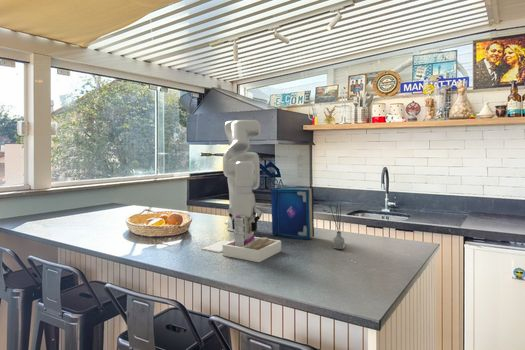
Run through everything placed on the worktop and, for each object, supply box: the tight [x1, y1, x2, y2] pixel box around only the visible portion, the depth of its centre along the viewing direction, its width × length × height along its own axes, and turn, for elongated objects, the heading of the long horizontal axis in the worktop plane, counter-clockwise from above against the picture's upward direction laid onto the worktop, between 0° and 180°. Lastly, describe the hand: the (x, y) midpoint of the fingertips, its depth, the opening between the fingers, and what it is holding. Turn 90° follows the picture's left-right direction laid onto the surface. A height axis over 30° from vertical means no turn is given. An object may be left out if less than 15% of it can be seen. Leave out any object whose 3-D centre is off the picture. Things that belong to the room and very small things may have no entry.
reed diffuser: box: [329, 203, 346, 250], centre depth 158 cm, size 10×7×20 cm
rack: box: [222, 236, 282, 263], centre depth 152 cm, size 18×18×4 cm
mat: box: [201, 240, 231, 254], centre depth 162 cm, size 10×16×1 cm, turn 148°
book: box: [270, 186, 315, 240], centre depth 180 cm, size 22×7×25 cm, turn 62°
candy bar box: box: [233, 216, 255, 247], centre depth 154 cm, size 11×5×16 cm, turn 160°
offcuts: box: [248, 236, 274, 250], centre depth 150 cm, size 5×12×6 cm, turn 148°
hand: (244, 230), depth 153 cm, fingers open, 9 cm apart
